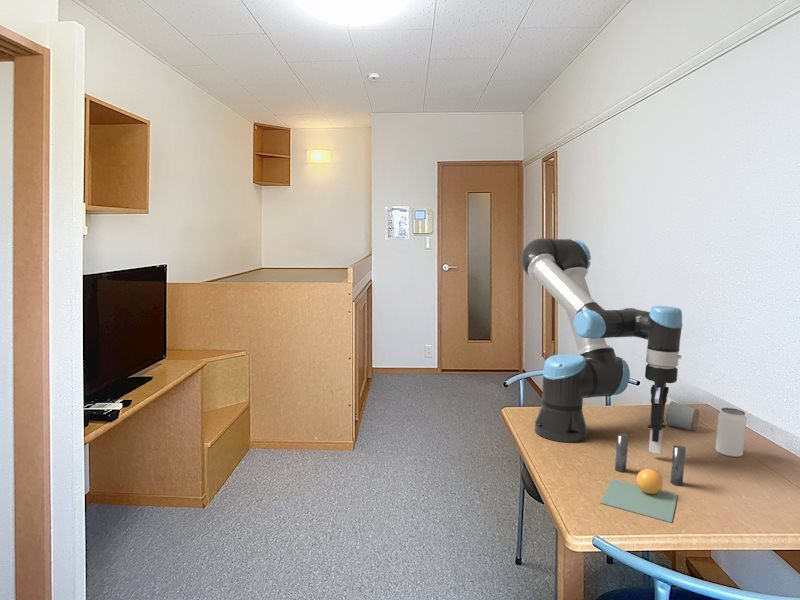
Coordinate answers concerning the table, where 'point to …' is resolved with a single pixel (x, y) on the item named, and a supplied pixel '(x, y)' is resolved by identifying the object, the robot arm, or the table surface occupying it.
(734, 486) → the table surface
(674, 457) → the post right
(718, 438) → the can
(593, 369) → the robot arm
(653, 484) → the ball
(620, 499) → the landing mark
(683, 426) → the grey lying cylinder
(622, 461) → the post left
